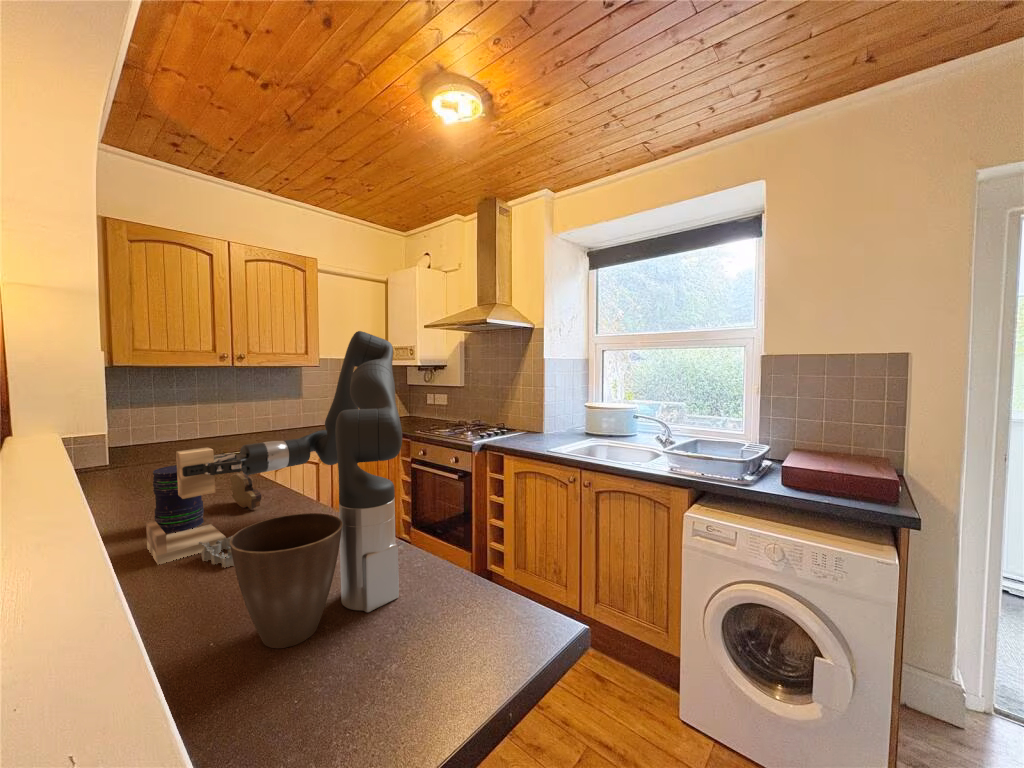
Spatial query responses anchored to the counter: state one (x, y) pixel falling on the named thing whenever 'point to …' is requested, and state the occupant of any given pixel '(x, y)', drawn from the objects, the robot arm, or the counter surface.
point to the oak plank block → (194, 483)
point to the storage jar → (174, 503)
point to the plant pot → (286, 573)
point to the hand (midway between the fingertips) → (180, 470)
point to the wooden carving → (244, 491)
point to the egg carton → (214, 551)
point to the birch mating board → (179, 541)
